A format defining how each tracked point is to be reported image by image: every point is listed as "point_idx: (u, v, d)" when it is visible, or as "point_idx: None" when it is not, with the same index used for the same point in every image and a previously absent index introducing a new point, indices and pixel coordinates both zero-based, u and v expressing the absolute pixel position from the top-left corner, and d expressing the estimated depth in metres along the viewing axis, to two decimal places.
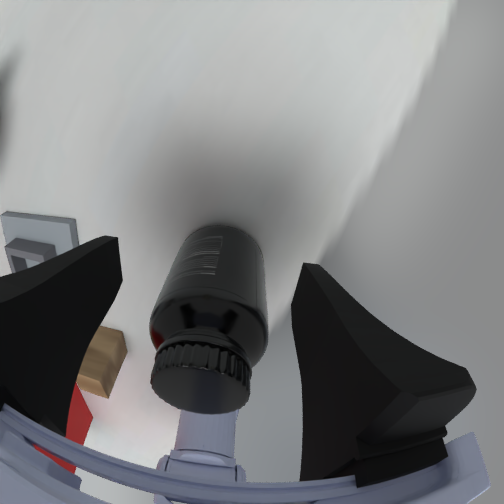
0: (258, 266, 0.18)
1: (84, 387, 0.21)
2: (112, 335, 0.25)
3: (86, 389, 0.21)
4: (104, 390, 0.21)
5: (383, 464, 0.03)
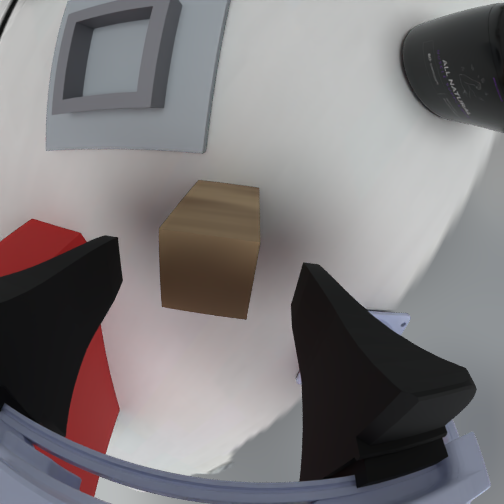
0: None
1: (178, 294, 0.10)
2: (243, 189, 0.14)
3: (183, 301, 0.10)
4: (252, 285, 0.10)
5: (383, 464, 0.03)
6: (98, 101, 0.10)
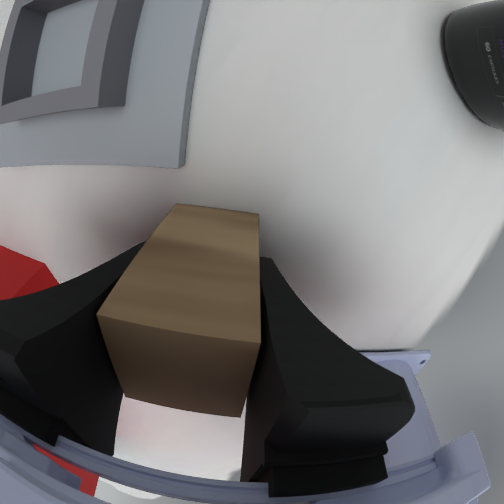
0: None
1: (144, 390, 0.06)
2: (236, 219, 0.10)
3: (151, 396, 0.06)
4: (247, 387, 0.06)
5: (296, 476, 0.03)
6: (37, 103, 0.06)
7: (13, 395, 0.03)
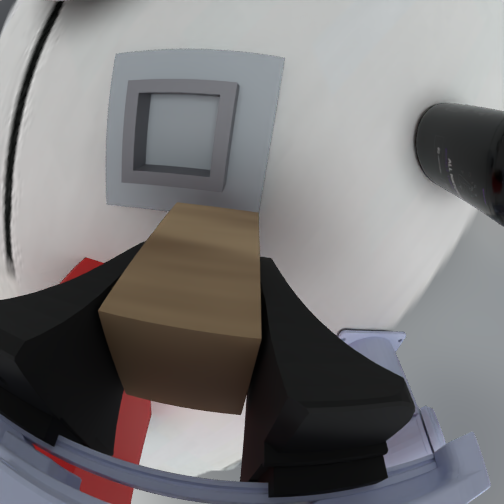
0: None
1: (144, 387, 0.06)
2: (236, 217, 0.10)
3: (152, 393, 0.06)
4: (248, 383, 0.06)
5: (296, 477, 0.03)
6: (172, 179, 0.15)
7: (13, 395, 0.03)
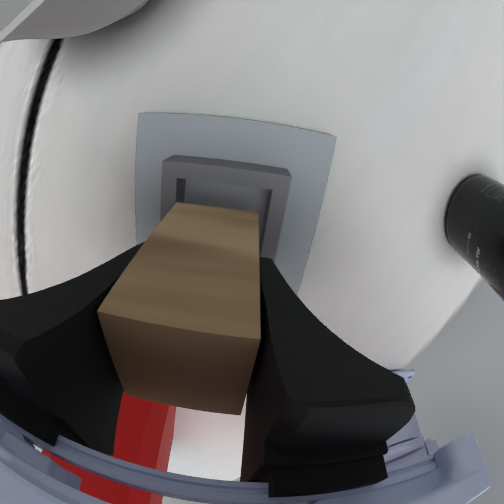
0: None
1: (144, 387, 0.06)
2: (236, 217, 0.10)
3: (151, 393, 0.06)
4: (248, 384, 0.06)
5: (296, 477, 0.03)
6: None
7: (13, 395, 0.03)
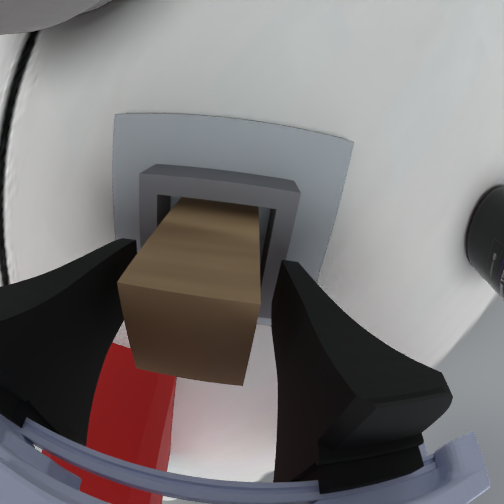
0: None
1: (154, 358, 0.07)
2: (238, 208, 0.11)
3: (161, 365, 0.07)
4: (249, 352, 0.07)
5: (347, 471, 0.03)
6: None
7: None
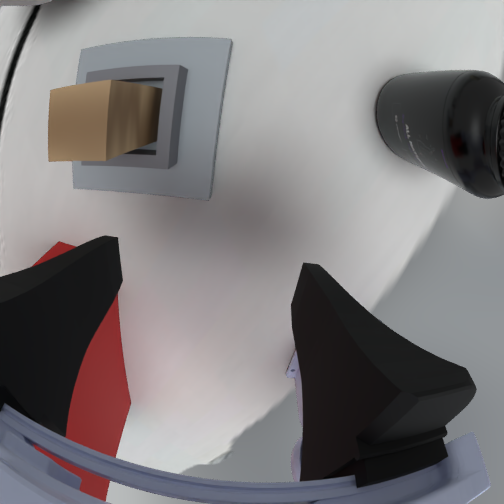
0: None
1: (58, 145, 0.09)
2: None
3: (61, 151, 0.09)
4: (108, 123, 0.09)
5: (383, 464, 0.03)
6: (124, 159, 0.14)
7: None
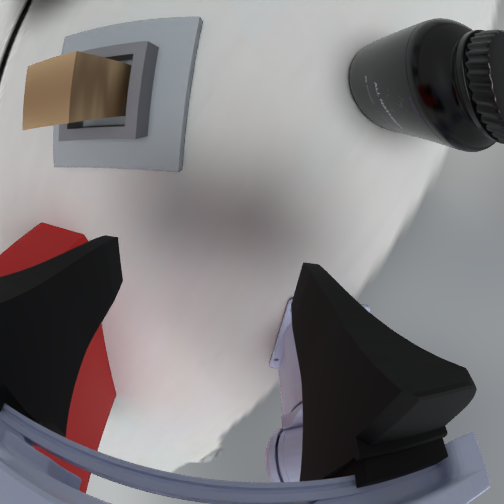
0: None
1: (31, 114, 0.08)
2: None
3: (33, 119, 0.08)
4: (72, 88, 0.08)
5: (383, 464, 0.03)
6: (96, 132, 0.14)
7: None
